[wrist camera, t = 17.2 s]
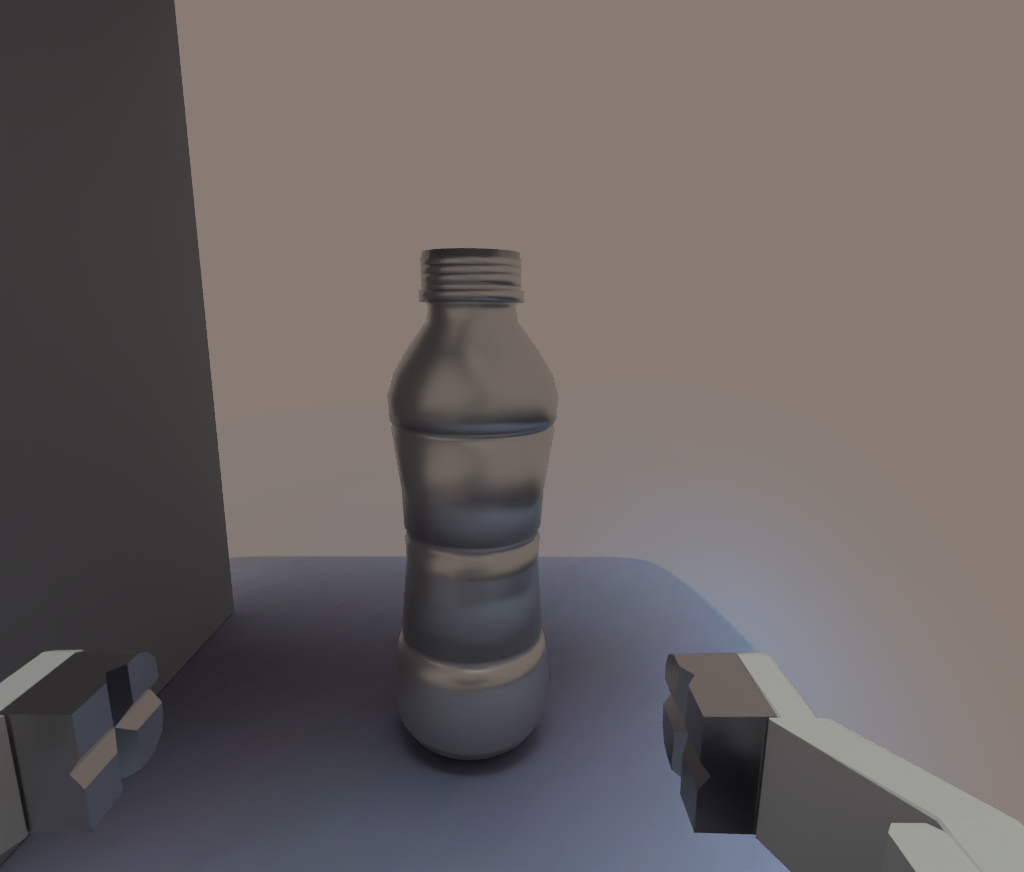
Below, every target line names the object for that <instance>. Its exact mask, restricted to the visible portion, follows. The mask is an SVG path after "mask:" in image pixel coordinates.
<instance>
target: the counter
mask: <svg viewBox="0 0 1024 872" xmlns="http://www.w3.org/2000/svg"><path fill="white" fill-rule="evenodd" d="M233 612H234V605H233V595H232V585H231V574H230V564H229V555H228V545H227V534H226V524H225V514H224V503H223V493H222V483H221V473H220V464H219V452H218V442H217V433H216V422H215V412H214V402H213V391H212V382H211V371H210V361H209V351H208V340H207V330H206V320H205V311H204V300H203V290H202V279H201V270H200V259H199V250H198V240H197V229H196V218H195V208H194V198H193V189H192V178H191V168H190V157H189V147H188V138H187V127H186V117H185V106H184V97H183V87H182V76H181V66H180V56H179V45H178V35H177V26H176V16H175V6H174V0H0V683H1V682H2V681H4V680H5V679H6V678H8V677H9V676H11V675H12V674H13V673H15V672H16V671H18V670H19V669H20V668H22V667H23V666H25V665H26V664H27V663H29V662H30V661H31V660H33V659H34V658H36V657H37V656H38V655H40V654H41V653H43V652H46V651H52V650H84V651H85V650H104V651H145V652H149V653H150V654H151V655H152V656H154V657H155V659H156V664H157V670H158V675H159V677H158V679H157V680H156V682H155V683H154V685H153V686H152V688H151V690H152V691H153V693H154V694H155V695H156V696H157V695H158V693H159V692H160V691H161V690H162V689H163V688H164V687H165V686H166V685H167V684H168V683H169V681H170V680H171V679H172V678H173V677H174V676H175V675H176V674H177V673H178V672H179V671H180V669H181V668H182V667H183V666H184V665H185V664H186V663H187V662H188V661H189V660H190V659H191V657H192V656H193V655H194V654H195V653H196V652H197V651H198V650H199V649H200V648H201V647H202V645H203V644H204V643H205V642H206V641H207V640H208V639H209V638H210V637H211V636H212V635H213V634H214V632H215V631H216V630H217V629H218V628H219V627H220V626H221V625H222V624H223V623H224V622H225V620H226V619H227V618H228V617H229V616H230V615H231V614H232V613H233ZM29 834H30V833H28V835H29ZM24 839H25V838H24ZM24 839H23V840H21V841H20V842H19V843H17V844H16V845H14V846H13V847H11V848H10V849H8V850H7V851H5V852H4V853H3V854H1V855H0V866H1V865H2V863H3V862H4V861H5V860H6V859H7V858H8V857H9V856H10V855H11V854H12V853H13V851H14V850H15V849H16V848H17V847H18V846H19V845H20V844H21V843H22V842H23V841H24Z"/></svg>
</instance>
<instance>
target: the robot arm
mask: <svg viewBox="0 0 1024 872" xmlns="http://www.w3.org/2000/svg"><path fill="white" fill-rule="evenodd" d="M158 677H159V675H158V670H157V664H156V659H155V657H154V656H152V655H151V654H150V653H149V652H145V651H104V650H85V651H84V650H52V651H46V652H43V653H41V654H40V655H38V656H37V657H36V658H34V659H33V660H31V661H30V662H29V663H27V664H26V665H25V666H23V667H22V668H20V669H19V670H18V671H16V672H15V673H13V674H12V675H11V676H9V677H8V678H6V679H5V680H4V681H2V682H1V683H0V855H1V854H3V853H4V852H5V851H7V850H8V849H10V848H11V847H13V846H14V845H16V844H17V843H19V842H20V841H21V840H23V839H24V838H26V837H27V836H28V833H40V832H75V831H92V830H93V829H94V827H95V826H96V825H97V824H98V822H99V821H100V820H101V819H102V817H103V816H104V815H105V814H106V813H107V811H108V810H109V809H110V808H111V806H112V805H113V804H114V803H115V801H116V800H117V799H118V798H119V797H120V795H121V794H122V793H123V785H122V780H123V779H125V778H126V777H128V776H130V775H132V774H133V773H135V772H137V771H138V770H140V769H142V768H143V767H144V765H145V764H146V763H147V761H148V760H149V759H150V757H151V756H152V755H153V754H154V752H155V749H156V747H157V744H158V742H159V739H160V737H161V734H162V728H163V719H164V714H163V706H162V702H161V700H160V699H159V698H158V697H157V696H156V695H155V694H154V693H153V691H152V690H151V688H152V686H153V685H154V683H155V682H156V680H157V679H158ZM665 680H666V682H667V685H668V687H669V689H670V692H671V695H670V696H669V698H668V699H667V700H666V701H665V702H664V704H663V734H664V744H665V748H666V753H667V757H668V760H669V763H670V766H671V769H672V770H673V771H674V772H675V773H677V774H678V775H679V776H680V777H681V788H680V795H681V797H682V800H683V803H684V806H685V808H686V811H687V814H688V817H689V820H690V822H691V825H692V828H693V831H694V833H725V834H755V835H756V838H757V839H758V840H759V841H760V842H761V843H762V844H763V845H764V846H765V847H766V848H767V849H768V850H769V851H770V852H771V853H772V854H773V855H774V856H775V857H776V858H777V859H778V860H779V861H780V862H781V863H783V864H784V865H785V866H786V867H787V868H788V869H789V870H790V871H791V872H1024V826H1023V825H1022V824H1021V823H1020V822H1018V821H1017V820H1015V819H1013V818H1012V817H1010V816H1008V815H1006V814H1004V813H1002V812H1000V811H999V810H997V809H995V808H993V807H991V806H989V805H988V804H986V803H984V802H982V801H980V800H978V799H977V798H975V797H973V796H971V795H969V794H967V793H965V792H964V791H962V790H960V789H958V788H956V787H954V786H952V785H951V784H949V783H947V782H945V781H943V780H941V779H940V778H938V777H936V776H934V775H932V774H930V773H928V772H927V771H925V770H923V769H921V768H919V767H917V766H915V765H913V764H912V763H910V762H908V761H906V760H904V759H903V758H901V757H899V756H897V755H895V754H893V753H891V752H889V751H888V750H886V749H884V748H882V747H880V746H879V745H877V744H875V743H873V742H871V741H869V740H867V739H866V738H863V737H862V736H860V735H858V734H856V733H854V732H853V731H851V730H849V729H847V728H845V727H843V726H842V725H840V724H838V723H836V722H834V721H832V720H830V719H829V718H817V717H816V715H815V714H814V713H813V712H812V710H811V709H810V708H809V706H808V705H807V704H806V703H805V701H804V700H803V698H802V697H801V696H800V695H799V693H798V692H797V691H796V690H795V688H794V687H793V685H792V684H791V683H790V682H789V680H788V679H787V678H786V676H785V675H784V674H783V672H782V671H781V670H780V668H779V667H778V666H777V665H776V663H775V662H774V661H773V659H772V658H771V657H770V655H768V654H766V653H764V652H742V653H709V654H670V655H668V659H667V663H666V672H665Z"/></svg>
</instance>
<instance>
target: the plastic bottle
mask: <svg viewBox="0 0 1024 872" xmlns="http://www.w3.org/2000/svg"><path fill="white" fill-rule="evenodd" d="M421 256H422V257H421V258H420V261H421V285H422V290H419V301H420V302H426V303H427V305H428V313H427V321H426V322H425V324H424V325H423V327H422V328H421V329H420V331H419V332H418V334H417V335H416V337H415V338H414V339H413V341H412V342H411V344H410V345H409V347H408V348H407V350H406V351H405V353H404V355H403V357H402V359H401V361H400V362H399V364H398V366H397V368H396V370H395V371H394V373H393V377H392V381H391V385H390V388H389V392H388V405H389V416H390V421H391V422H392V427H391V429H392V435H393V440H394V446H395V453H396V458H397V464H398V470H399V476H400V481H401V488H402V499H403V513H404V525H405V528H406V530H407V532H406V535H405V540H406V553H407V562H406V577H405V591H404V606H403V621H402V629H401V632H400V636H399V641H398V645H397V650H396V658H395V667H394V676H393V685H394V691H395V696H396V700H397V705H398V709H399V714H400V717H401V719H402V722H403V724H404V725H405V727H406V728H407V729H408V731H409V732H410V733H411V734H412V735H413V736H414V737H415V738H416V739H417V740H418V742H419V743H421V744H422V745H423V746H424V747H426V748H427V749H429V750H431V751H432V752H434V753H436V754H439V755H442V756H445V757H448V758H454V759H460V760H479V759H486V758H491V757H495V756H498V755H501V754H503V753H506V752H508V751H510V750H512V749H513V748H515V747H516V746H518V745H519V744H520V743H521V742H522V741H523V740H524V739H525V738H526V737H527V736H528V735H529V734H530V733H531V731H532V730H533V729H534V728H535V727H536V726H537V725H538V723H539V721H540V719H541V717H542V714H543V710H544V706H545V701H546V697H547V692H548V688H549V683H550V675H549V665H548V656H547V647H546V641H545V637H544V632H543V628H542V625H541V607H540V590H539V573H538V549H539V538H540V537H539V532H538V529H539V527H540V525H541V513H542V501H543V489H544V483H545V478H546V472H547V467H548V461H549V456H550V450H551V445H552V439H553V433H554V426H553V423H554V422H555V421H556V415H557V404H558V394H557V390H556V386H555V383H554V378H553V375H552V373H551V371H550V369H549V368H548V366H547V364H546V363H545V361H544V359H543V357H542V356H541V354H540V352H539V350H538V349H537V348H536V346H535V345H534V343H533V342H532V341H531V339H530V338H529V337H528V335H527V334H526V332H525V331H524V330H523V328H522V327H521V325H520V324H519V323H518V320H517V315H516V305H517V303H524V291H521V259H520V253H519V252H515V251H509V250H498V249H477V248H455V249H454V248H453V249H452V248H451V249H433V250H425V251H422V252H421Z"/></svg>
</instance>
